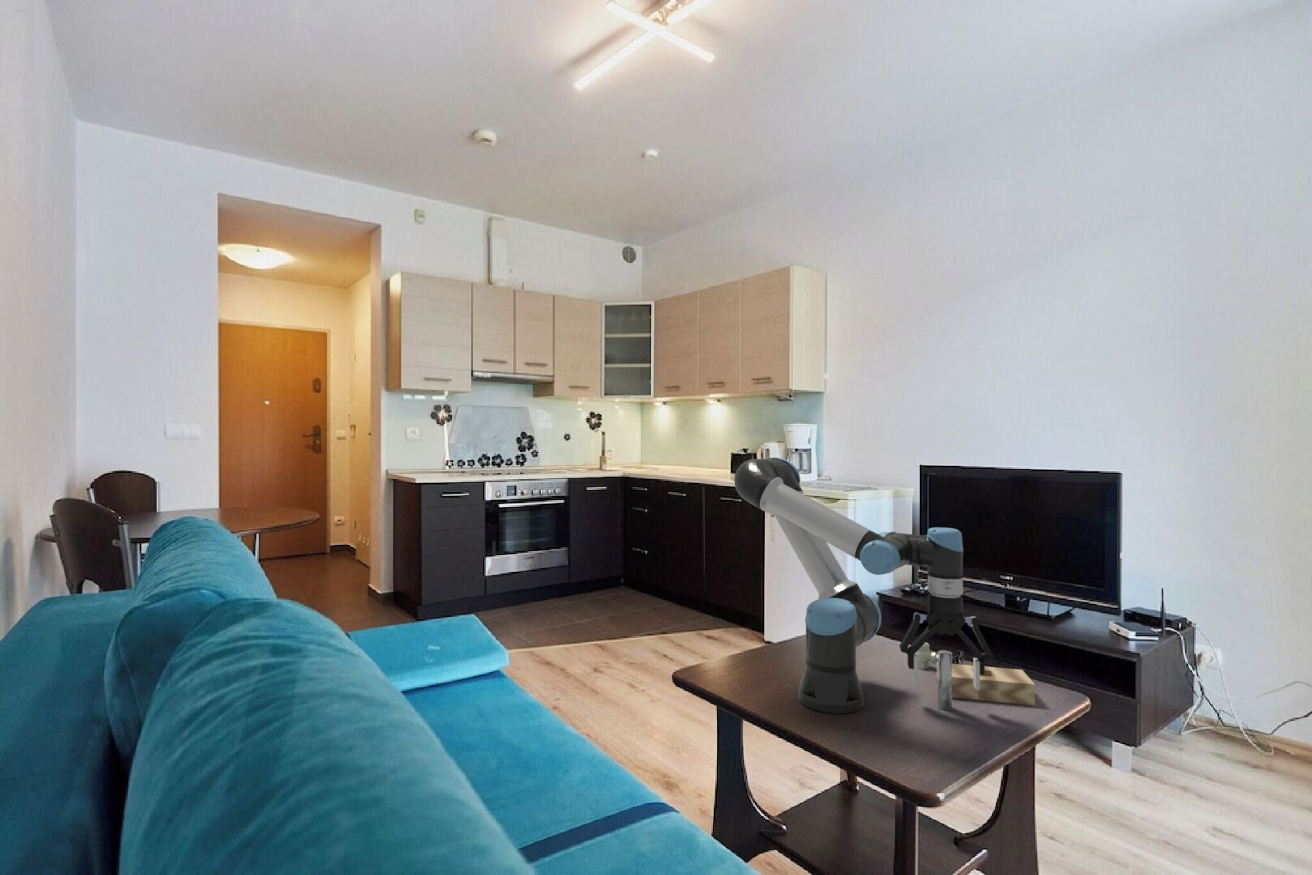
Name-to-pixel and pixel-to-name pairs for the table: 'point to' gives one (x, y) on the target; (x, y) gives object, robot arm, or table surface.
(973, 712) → the table surface
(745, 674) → the table surface
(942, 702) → the peg
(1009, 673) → the hole block
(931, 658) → the valve
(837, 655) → the robot arm
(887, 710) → the table surface
